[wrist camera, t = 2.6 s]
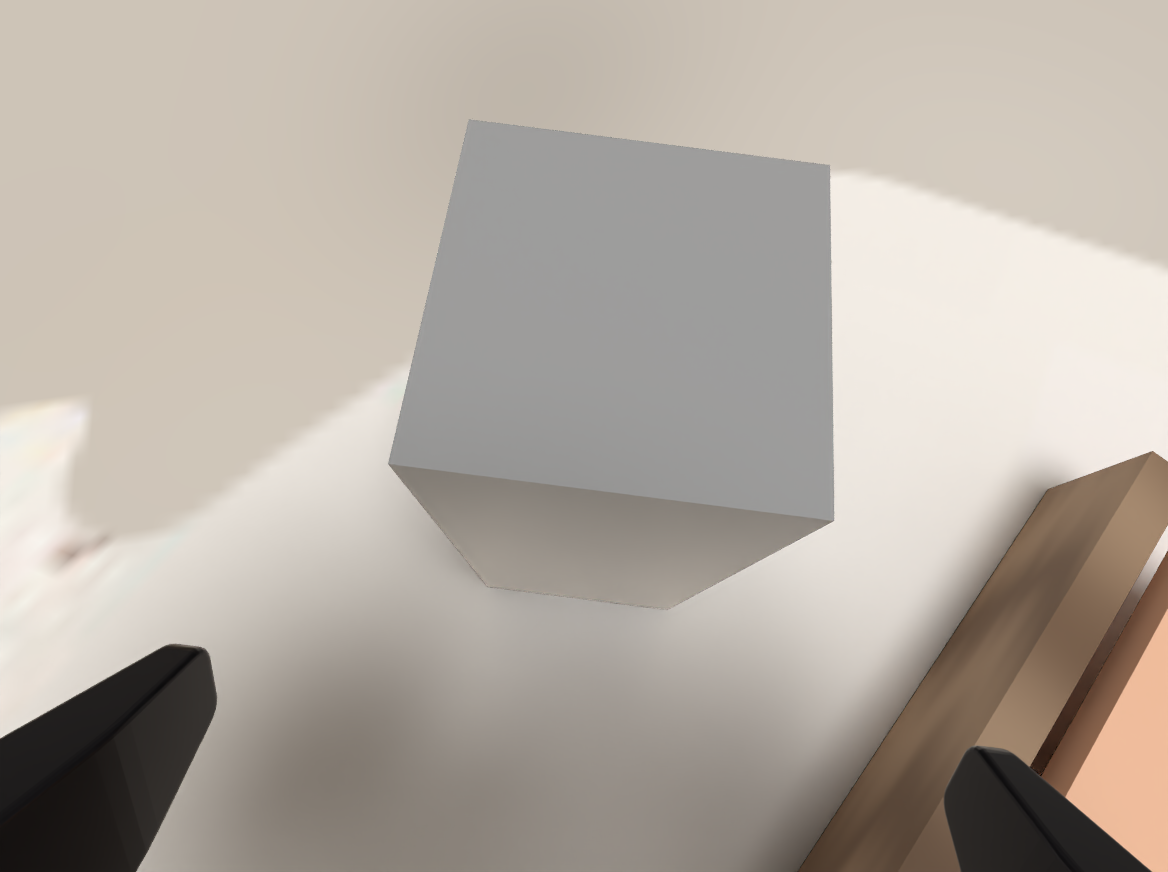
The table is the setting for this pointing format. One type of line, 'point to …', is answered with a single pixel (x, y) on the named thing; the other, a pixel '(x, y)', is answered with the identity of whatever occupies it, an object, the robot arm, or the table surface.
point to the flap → (1125, 736)
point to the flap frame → (1003, 666)
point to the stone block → (623, 365)
